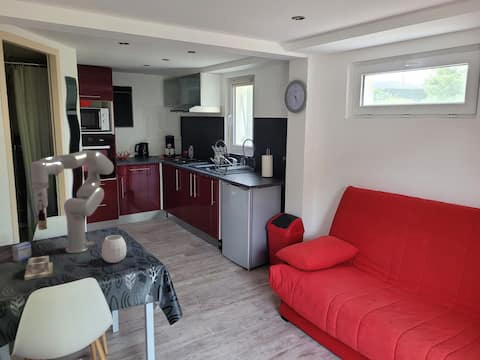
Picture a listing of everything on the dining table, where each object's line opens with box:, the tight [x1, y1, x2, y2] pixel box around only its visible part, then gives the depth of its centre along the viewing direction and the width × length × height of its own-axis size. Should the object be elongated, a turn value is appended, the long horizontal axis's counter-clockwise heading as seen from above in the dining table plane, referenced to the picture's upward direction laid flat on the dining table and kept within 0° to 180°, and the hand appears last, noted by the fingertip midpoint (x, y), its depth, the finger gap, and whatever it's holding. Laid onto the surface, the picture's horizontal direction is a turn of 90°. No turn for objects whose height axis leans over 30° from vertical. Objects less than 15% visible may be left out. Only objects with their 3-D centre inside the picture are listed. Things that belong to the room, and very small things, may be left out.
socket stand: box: [24, 255, 54, 281], centre depth 182 cm, size 12×14×6 cm
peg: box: [36, 206, 48, 231], centre depth 186 cm, size 4×4×14 cm
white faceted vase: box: [101, 234, 127, 264], centre depth 198 cm, size 13×13×14 cm
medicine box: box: [11, 241, 33, 263], centre depth 197 cm, size 8×4×9 cm, turn 160°
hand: (42, 219), depth 186 cm, fingers closed on peg, 4 cm apart
